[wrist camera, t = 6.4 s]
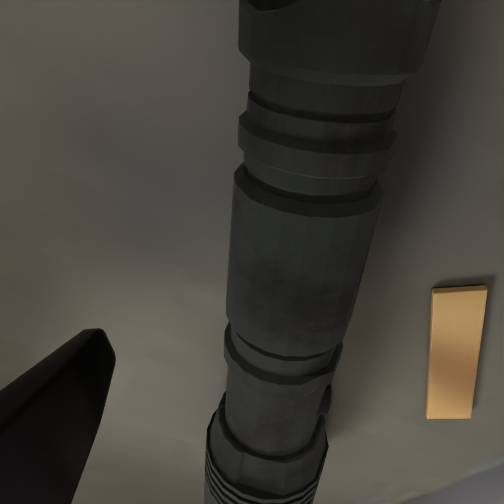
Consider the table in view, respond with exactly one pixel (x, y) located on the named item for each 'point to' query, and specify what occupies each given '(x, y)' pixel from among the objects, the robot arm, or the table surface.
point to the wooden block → (454, 350)
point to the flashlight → (302, 227)
